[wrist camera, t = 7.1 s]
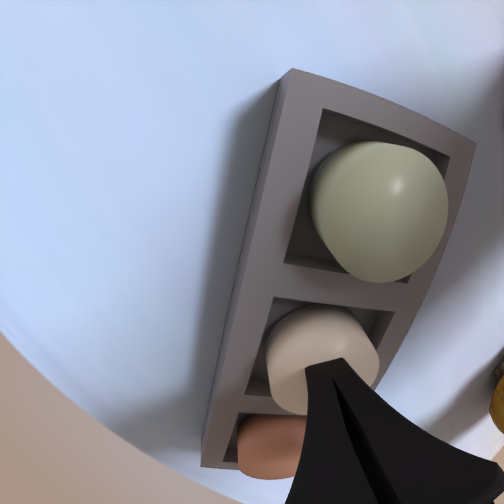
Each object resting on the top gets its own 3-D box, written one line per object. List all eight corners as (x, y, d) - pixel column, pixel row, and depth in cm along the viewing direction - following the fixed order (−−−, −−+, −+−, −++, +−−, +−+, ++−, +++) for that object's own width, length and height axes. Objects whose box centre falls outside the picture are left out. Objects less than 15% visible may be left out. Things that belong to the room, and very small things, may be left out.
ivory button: (375, 309, 12) (396, 340, 10) (340, 382, 13) (353, 414, 11) (279, 297, 11) (288, 331, 9) (254, 377, 13) (258, 413, 11)
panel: (444, 137, 10) (476, 143, 9) (312, 444, 17) (318, 469, 15) (280, 77, 9) (292, 68, 8) (201, 439, 16) (200, 466, 14)
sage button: (427, 160, 9) (462, 170, 8) (394, 263, 11) (421, 290, 9) (325, 124, 9) (348, 125, 7) (294, 244, 10) (308, 272, 9)
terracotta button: (325, 409, 14) (335, 440, 12) (300, 450, 15) (305, 478, 13) (245, 406, 13) (247, 440, 11) (230, 448, 15) (231, 478, 13)
